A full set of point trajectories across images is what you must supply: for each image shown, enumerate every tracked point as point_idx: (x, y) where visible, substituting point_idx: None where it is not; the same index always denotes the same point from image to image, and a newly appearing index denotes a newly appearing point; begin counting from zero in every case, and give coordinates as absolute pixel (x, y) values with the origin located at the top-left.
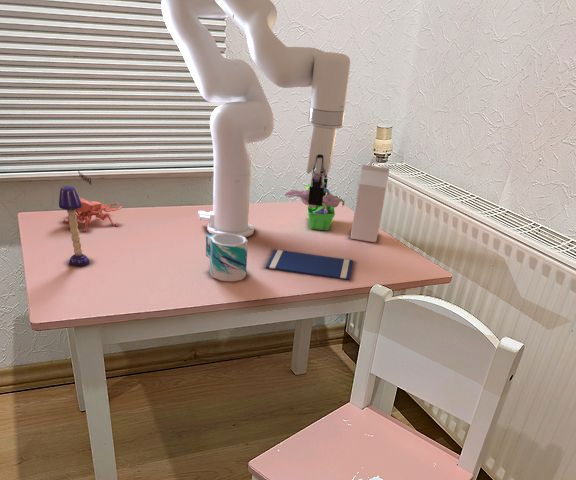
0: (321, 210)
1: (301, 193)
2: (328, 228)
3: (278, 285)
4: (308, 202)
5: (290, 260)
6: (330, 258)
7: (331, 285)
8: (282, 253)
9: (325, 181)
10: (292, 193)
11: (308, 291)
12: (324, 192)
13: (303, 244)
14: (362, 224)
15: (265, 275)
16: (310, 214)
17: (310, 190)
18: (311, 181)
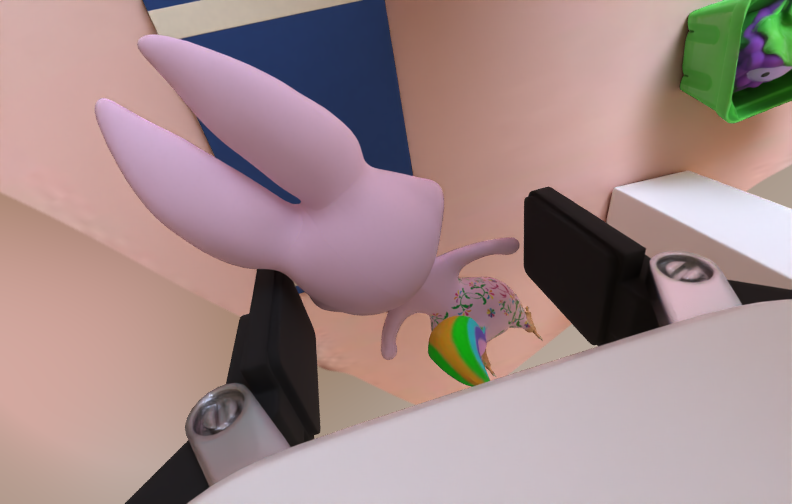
0: (766, 58)
1: (315, 202)
2: (685, 92)
3: (28, 125)
4: (259, 270)
5: (293, 75)
6: None
7: (204, 272)
8: (347, 7)
9: (588, 331)
10: (217, 133)
11: (92, 236)
12: (536, 279)
13: (509, 51)
14: (646, 239)
15: (66, 27)
16: (739, 9)
17: (251, 345)
18: (196, 453)
